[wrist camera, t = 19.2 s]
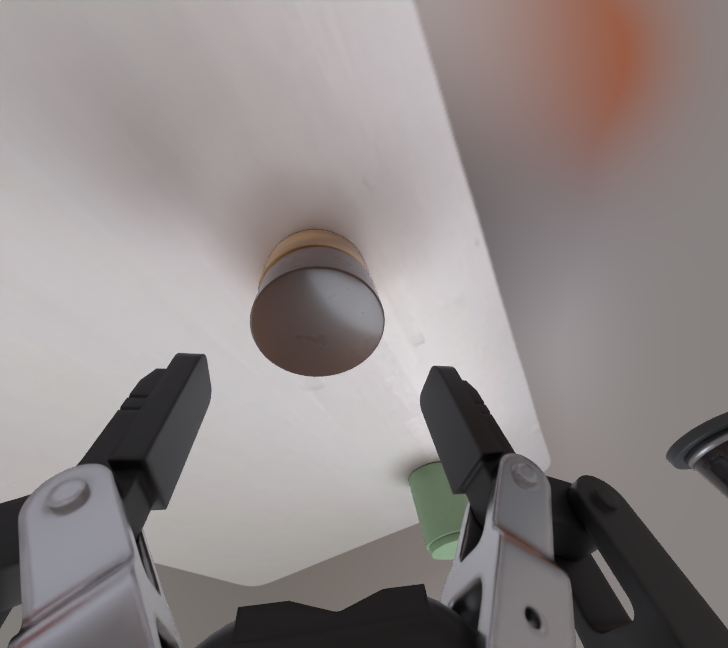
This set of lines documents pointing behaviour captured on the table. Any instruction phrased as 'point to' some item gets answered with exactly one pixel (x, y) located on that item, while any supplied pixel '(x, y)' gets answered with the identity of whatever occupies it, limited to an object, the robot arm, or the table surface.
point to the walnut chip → (317, 312)
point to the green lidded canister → (437, 510)
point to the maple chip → (311, 240)
